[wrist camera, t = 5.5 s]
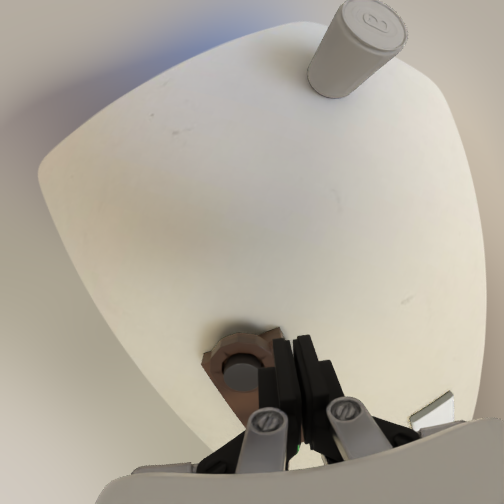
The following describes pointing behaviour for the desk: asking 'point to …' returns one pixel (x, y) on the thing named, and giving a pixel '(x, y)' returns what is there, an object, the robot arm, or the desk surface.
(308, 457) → the desk surface
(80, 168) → the desk surface
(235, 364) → the button
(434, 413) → the hard drive
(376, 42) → the beverage can
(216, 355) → the switch box
